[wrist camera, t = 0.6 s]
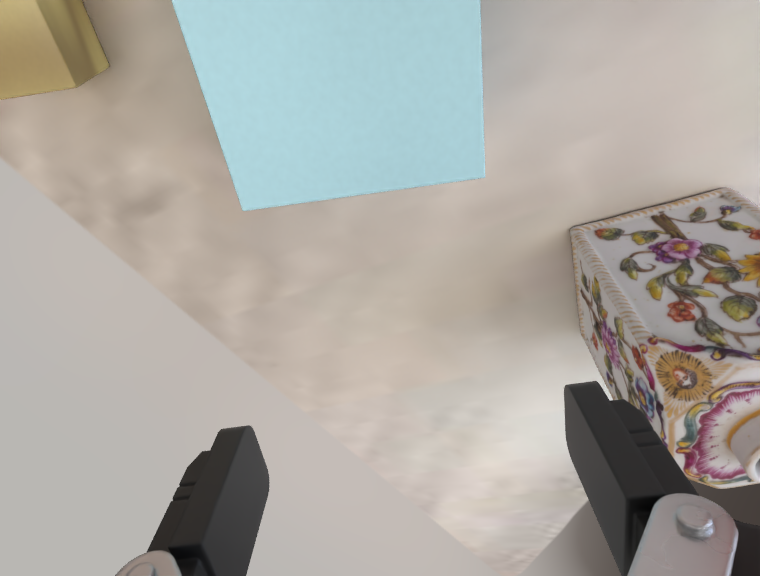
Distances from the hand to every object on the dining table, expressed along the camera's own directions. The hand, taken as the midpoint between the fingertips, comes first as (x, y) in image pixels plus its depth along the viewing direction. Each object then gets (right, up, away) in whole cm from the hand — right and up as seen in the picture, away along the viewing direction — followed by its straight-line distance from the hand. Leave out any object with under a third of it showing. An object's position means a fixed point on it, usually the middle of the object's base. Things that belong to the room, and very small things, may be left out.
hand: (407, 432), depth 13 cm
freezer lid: (-3, +15, +9) cm, 18 cm away
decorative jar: (+20, +6, +28) cm, 35 cm away
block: (-20, +19, +17) cm, 32 cm away
